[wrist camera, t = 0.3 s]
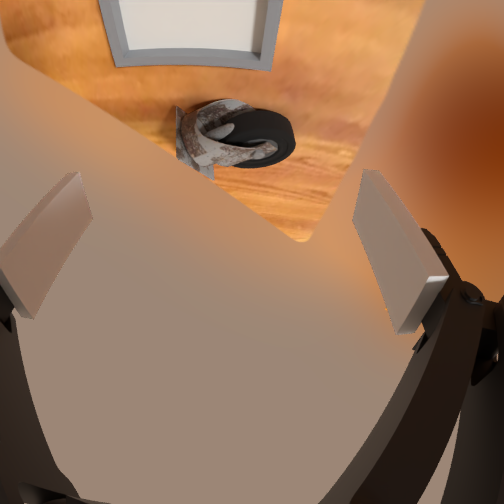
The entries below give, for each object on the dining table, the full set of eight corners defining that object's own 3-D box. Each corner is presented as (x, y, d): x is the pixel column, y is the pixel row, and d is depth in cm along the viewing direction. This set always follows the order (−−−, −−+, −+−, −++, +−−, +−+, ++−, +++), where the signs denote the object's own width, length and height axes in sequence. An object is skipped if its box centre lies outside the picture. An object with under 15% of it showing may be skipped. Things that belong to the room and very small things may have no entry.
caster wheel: (297, 123, 34) (225, 149, 38) (259, 67, 24) (171, 107, 27) (308, 171, 32) (230, 194, 36) (271, 120, 22) (171, 160, 26)
